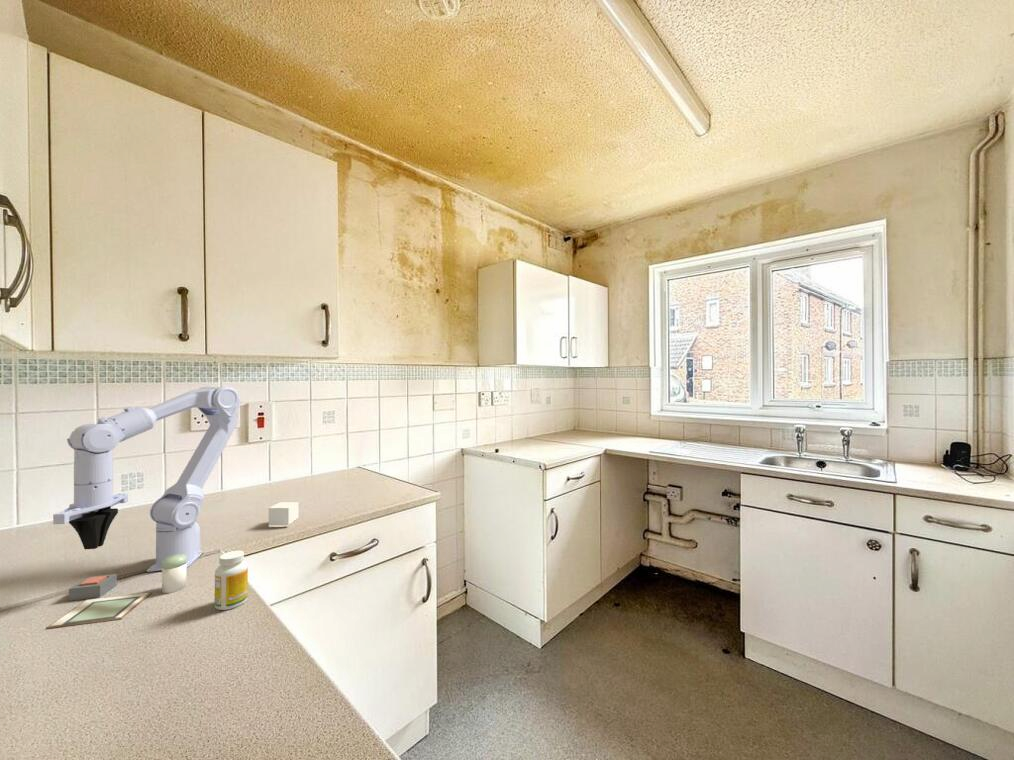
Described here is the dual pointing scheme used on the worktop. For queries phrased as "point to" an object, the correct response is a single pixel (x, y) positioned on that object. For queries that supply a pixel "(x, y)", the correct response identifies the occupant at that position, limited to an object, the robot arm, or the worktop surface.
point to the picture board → (100, 610)
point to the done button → (93, 580)
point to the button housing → (92, 588)
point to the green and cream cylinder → (173, 573)
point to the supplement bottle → (231, 581)
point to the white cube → (283, 513)
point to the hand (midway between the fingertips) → (93, 547)
